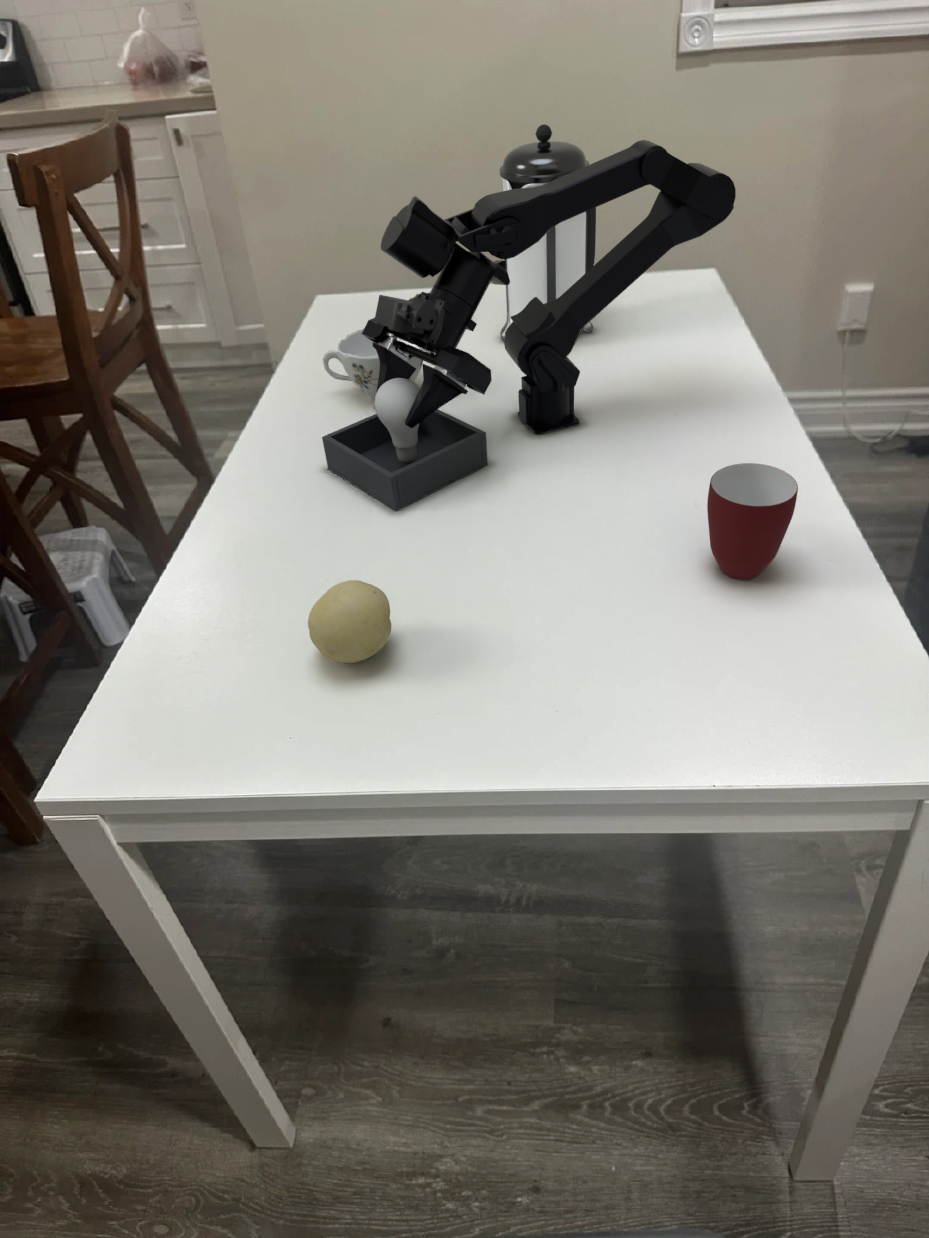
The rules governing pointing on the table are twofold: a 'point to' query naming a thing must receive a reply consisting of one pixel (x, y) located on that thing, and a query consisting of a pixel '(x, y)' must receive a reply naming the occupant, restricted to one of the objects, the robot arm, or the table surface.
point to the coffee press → (564, 245)
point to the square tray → (378, 471)
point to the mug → (749, 516)
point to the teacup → (361, 362)
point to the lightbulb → (398, 415)
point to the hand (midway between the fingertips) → (392, 418)
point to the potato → (350, 622)
